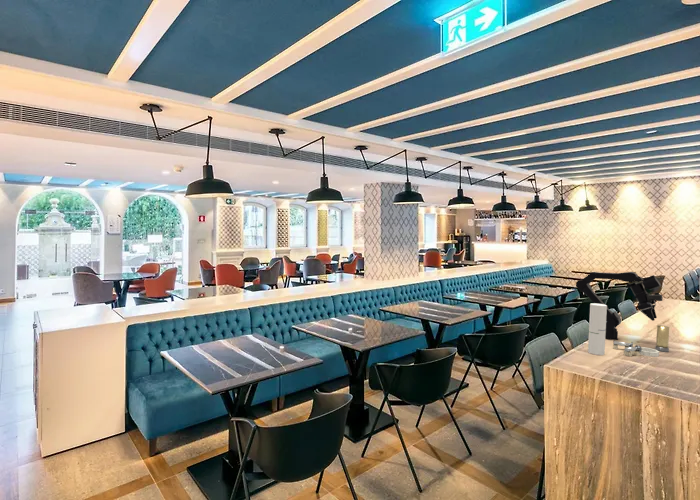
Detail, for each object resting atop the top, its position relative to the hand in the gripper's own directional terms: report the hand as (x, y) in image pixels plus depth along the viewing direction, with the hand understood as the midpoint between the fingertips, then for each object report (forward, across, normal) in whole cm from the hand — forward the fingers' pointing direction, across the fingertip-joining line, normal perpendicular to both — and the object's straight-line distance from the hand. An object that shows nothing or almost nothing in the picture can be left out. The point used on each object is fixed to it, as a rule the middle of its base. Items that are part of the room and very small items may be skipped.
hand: (654, 319), depth 212 cm
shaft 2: (+11, -31, +11) cm, 34 cm away
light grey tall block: (+5, -41, +24) cm, 48 cm away
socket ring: (+13, -22, +7) cm, 26 cm away
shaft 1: (+8, -23, +16) cm, 29 cm away
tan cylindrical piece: (+15, -8, +3) cm, 17 cm away
